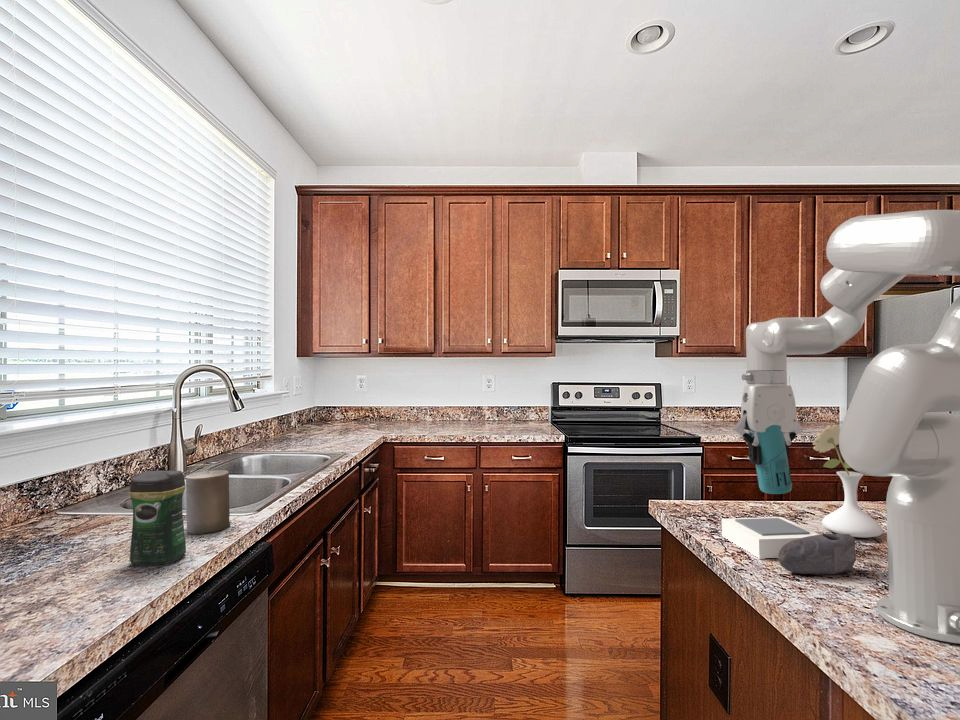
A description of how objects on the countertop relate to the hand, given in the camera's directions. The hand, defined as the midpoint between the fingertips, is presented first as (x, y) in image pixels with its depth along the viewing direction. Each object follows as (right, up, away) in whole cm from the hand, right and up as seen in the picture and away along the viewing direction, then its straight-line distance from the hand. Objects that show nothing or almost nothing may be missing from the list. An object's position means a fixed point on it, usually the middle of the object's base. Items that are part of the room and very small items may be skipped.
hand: (768, 462), depth 108 cm
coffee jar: (-130, -20, -3) cm, 131 cm away
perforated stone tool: (+1, -18, -14) cm, 23 cm away
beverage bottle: (+2, -7, +1) cm, 8 cm away
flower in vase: (+22, -18, +7) cm, 29 cm away
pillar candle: (-131, -21, +18) cm, 134 cm away
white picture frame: (0, -18, 0) cm, 18 cm away
